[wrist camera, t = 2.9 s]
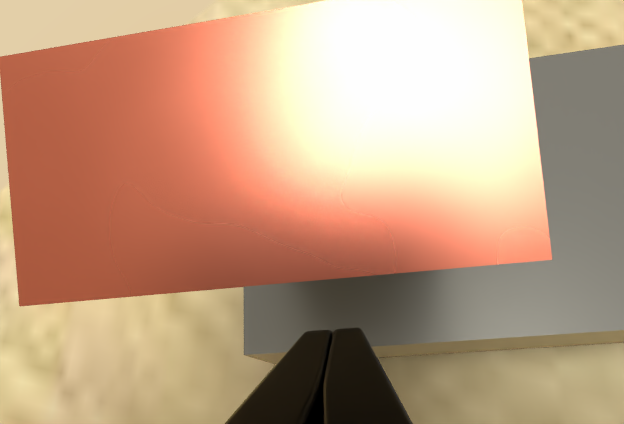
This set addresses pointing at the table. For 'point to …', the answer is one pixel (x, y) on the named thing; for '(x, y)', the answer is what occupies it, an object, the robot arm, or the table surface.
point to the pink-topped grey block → (275, 150)
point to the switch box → (503, 277)
